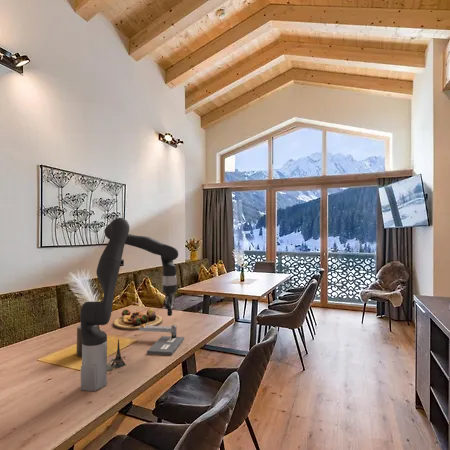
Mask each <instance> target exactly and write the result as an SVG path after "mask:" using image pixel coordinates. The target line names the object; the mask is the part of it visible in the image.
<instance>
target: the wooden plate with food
mask: <svg viewBox="0 0 450 450" xmlns="http://www.w3.org/2000/svg"><path fill="white" fill-rule="evenodd" d="M112 324H113V326H114V327H115V328H116V329H119V330H124V331H139V327H140V326H141V325H142V324H145V325H149V326H161V324H163V316H160V315H158V314H156V311H155V310H154V309H152V307H151V308H150V307H149V308H148V310H147V311H146V312H141V311H137V310H136V311H134V312H132V313H131V311H130V309H128V308H125V309H123V310H122V311H121V316H119V317H117V318H115V320H113V323H112Z"/></svg>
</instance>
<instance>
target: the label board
mask: <svg viewBox="0 0 450 450" xmlns="http://www.w3.org/2000/svg"><path fill="white" fill-rule="evenodd" d="M183 340H184V341H185V336H176V338H171V336H170V335H169V336H168V335H162V336H161V337H160V338H159V339H157V340H156V341H155V342H154V343H153V344H152V345H151V346H150V347H149V348H148V349H147V351H146V354H147V355H162V356H173V355H174V353H176V351H177V350H178V349H179V347H180V346H181V344H182V343H183V342H184V341H183Z"/></svg>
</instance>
